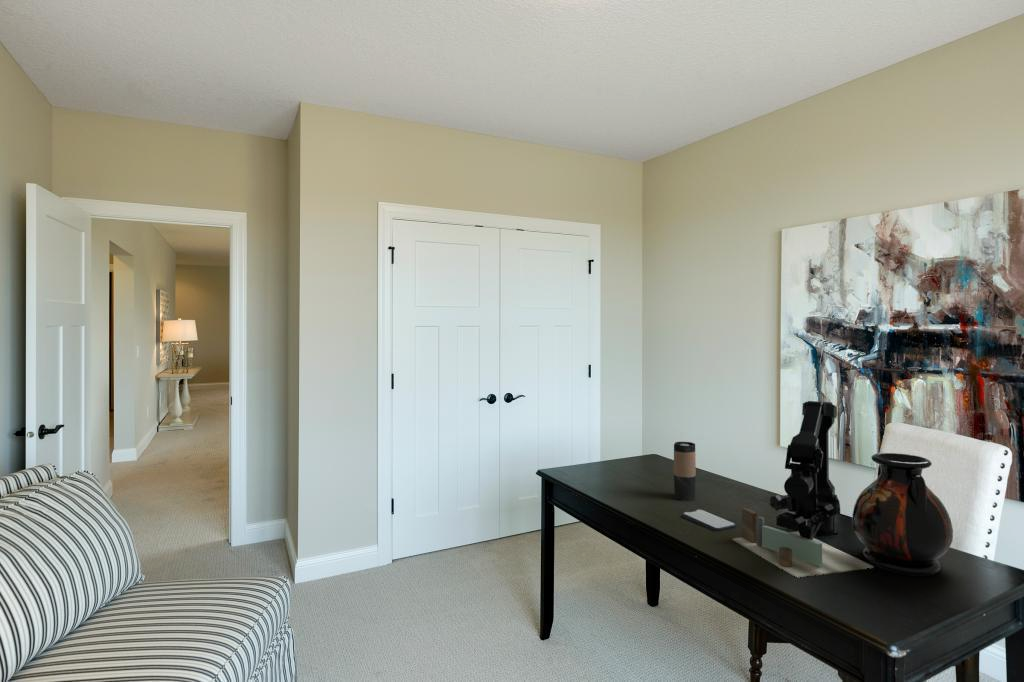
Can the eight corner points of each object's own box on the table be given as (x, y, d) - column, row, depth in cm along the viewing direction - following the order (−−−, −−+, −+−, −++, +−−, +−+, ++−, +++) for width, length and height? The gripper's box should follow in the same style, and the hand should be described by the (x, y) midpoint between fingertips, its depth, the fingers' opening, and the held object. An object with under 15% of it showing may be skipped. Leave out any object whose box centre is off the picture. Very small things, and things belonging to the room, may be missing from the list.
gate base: (799, 532, 170) (799, 502, 169) (873, 567, 144) (873, 533, 144) (732, 539, 164) (732, 509, 164) (796, 578, 139) (796, 542, 139)
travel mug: (700, 499, 203) (700, 444, 202) (683, 502, 200) (682, 446, 200) (686, 494, 210) (686, 440, 210) (669, 496, 207) (669, 442, 207)
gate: (754, 544, 159) (754, 517, 158) (759, 542, 160) (759, 516, 160) (818, 566, 143) (818, 536, 143) (822, 564, 144) (822, 535, 144)
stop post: (786, 563, 148) (786, 546, 147) (794, 568, 145) (794, 550, 144) (776, 564, 147) (776, 547, 147) (784, 569, 144) (784, 552, 144)
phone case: (738, 529, 175) (700, 513, 189) (738, 524, 175) (700, 508, 189) (716, 534, 171) (680, 517, 185) (716, 529, 171) (680, 512, 185)
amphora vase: (837, 547, 158) (837, 448, 158) (919, 549, 156) (920, 449, 155) (878, 581, 137) (878, 467, 136) (974, 584, 134) (975, 468, 134)
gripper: (794, 475, 161) (796, 529, 161) (756, 489, 150) (758, 546, 151) (834, 484, 152) (836, 541, 152) (796, 499, 141) (798, 560, 142)
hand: (806, 546), depth 150 cm, fingers closed
